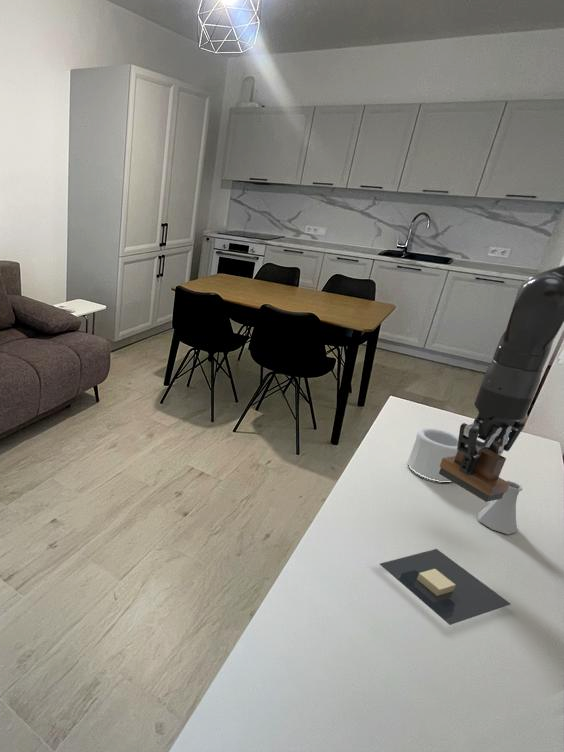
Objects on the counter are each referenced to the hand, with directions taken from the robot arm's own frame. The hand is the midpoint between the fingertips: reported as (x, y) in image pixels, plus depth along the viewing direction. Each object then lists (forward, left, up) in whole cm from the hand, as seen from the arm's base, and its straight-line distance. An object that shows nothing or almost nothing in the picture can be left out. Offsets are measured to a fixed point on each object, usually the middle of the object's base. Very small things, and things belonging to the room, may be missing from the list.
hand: (475, 470), depth 93 cm
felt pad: (+14, +8, -16) cm, 23 cm away
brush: (0, 0, -3) cm, 3 cm away
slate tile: (+12, +8, -17) cm, 23 cm away
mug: (-24, -22, -17) cm, 36 cm away
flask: (-18, -2, -17) cm, 25 cm away
